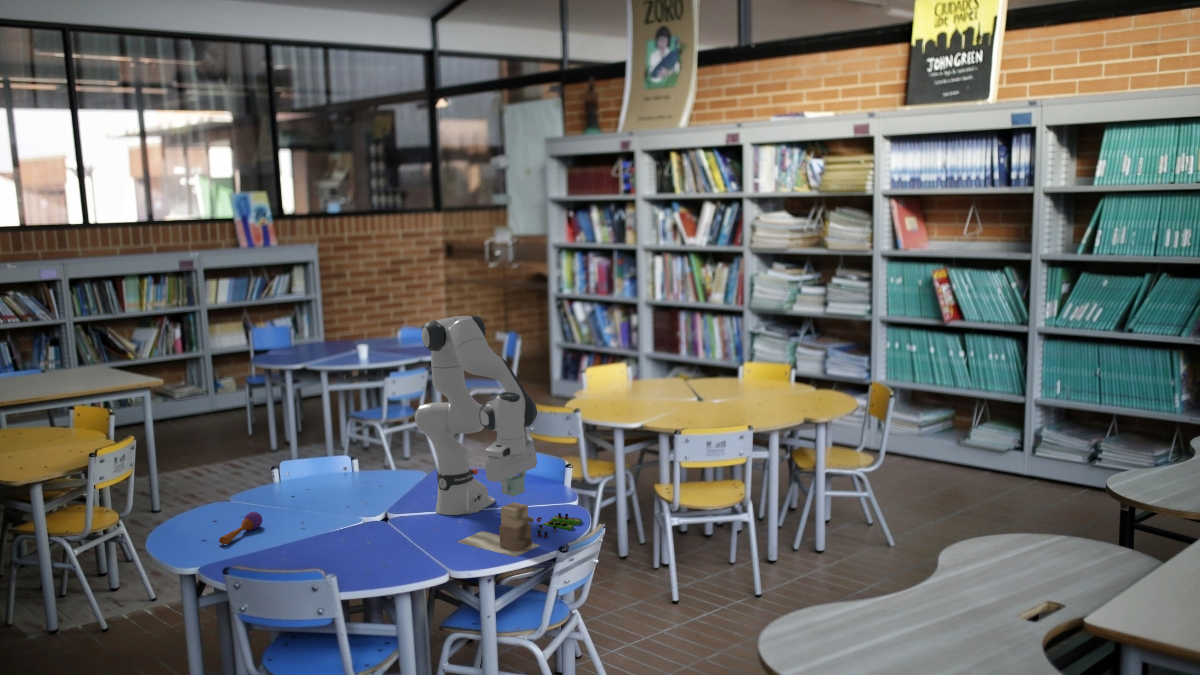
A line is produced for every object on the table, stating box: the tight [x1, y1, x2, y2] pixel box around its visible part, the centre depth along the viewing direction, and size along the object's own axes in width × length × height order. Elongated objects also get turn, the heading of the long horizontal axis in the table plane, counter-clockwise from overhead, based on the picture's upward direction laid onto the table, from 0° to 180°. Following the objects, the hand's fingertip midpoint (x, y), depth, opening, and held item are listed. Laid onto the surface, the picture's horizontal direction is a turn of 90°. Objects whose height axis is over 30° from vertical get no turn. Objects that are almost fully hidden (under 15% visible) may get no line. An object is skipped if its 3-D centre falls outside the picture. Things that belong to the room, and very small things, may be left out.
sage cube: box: [501, 474, 526, 497], centre depth 304 cm, size 5×5×5 cm
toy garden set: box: [528, 512, 583, 539], centre depth 326 cm, size 23×19×5 cm
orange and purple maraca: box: [218, 511, 263, 545], centre depth 330 cm, size 6×6×20 cm
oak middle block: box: [500, 502, 530, 529], centre depth 305 cm, size 6×6×6 cm
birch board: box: [457, 530, 541, 558], centre depth 310 cm, size 12×25×2 cm, turn 54°
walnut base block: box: [498, 522, 533, 552], centre depth 306 cm, size 7×7×7 cm
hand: (513, 488), depth 304 cm, fingers closed on sage cube, 5 cm apart
